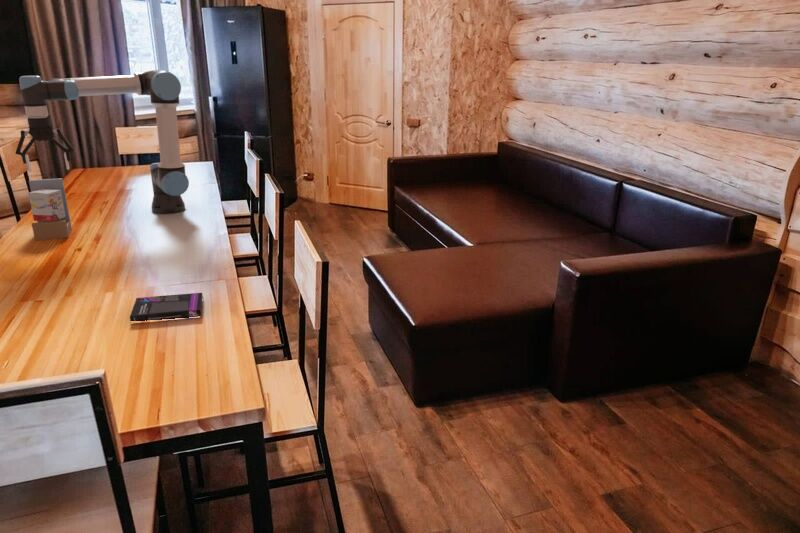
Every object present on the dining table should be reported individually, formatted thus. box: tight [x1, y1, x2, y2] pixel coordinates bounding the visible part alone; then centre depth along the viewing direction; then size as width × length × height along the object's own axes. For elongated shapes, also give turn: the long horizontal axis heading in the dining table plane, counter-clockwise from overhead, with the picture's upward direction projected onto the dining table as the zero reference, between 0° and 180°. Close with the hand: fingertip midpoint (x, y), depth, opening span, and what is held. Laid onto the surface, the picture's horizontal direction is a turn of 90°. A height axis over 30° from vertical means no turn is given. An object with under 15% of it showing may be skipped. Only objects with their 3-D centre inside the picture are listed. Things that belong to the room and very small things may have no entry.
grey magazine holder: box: [28, 177, 73, 241], centre depth 238 cm, size 12×13×22 cm
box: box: [129, 292, 204, 322], centre depth 175 cm, size 14×4×20 cm
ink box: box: [28, 189, 66, 222], centre depth 237 cm, size 9×9×12 cm
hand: (49, 170), depth 236 cm, fingers open, 13 cm apart
